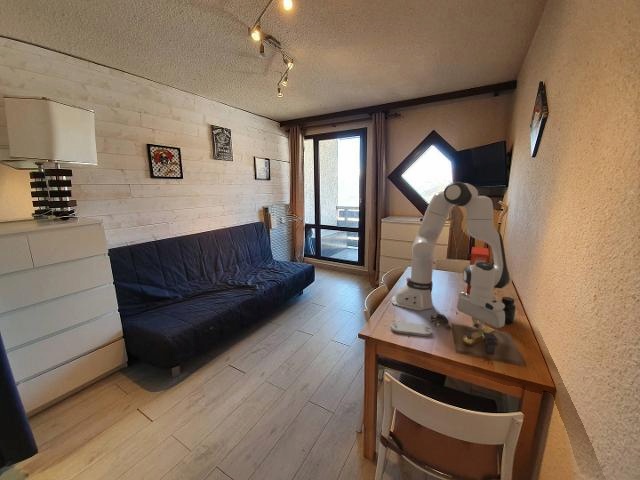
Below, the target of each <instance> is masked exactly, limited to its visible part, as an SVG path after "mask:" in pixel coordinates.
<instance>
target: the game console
mask: <svg viewBox="0 0 640 480" xmlns="http://www.w3.org/2000/svg"><path fill="white" fill-rule="evenodd" d="M390 329H391V331H392V332H394V331H395V332H394V333H397V332H398V334H402V333H403V335H410V334H411V336H419V337H430V336H431V335H432V332H433V330H432V327H430V326H428V325H424V324H420V323H412V322H404V321H402V322H401V321H393V322H391V324H390Z"/></svg>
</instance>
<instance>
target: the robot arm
mask: <svg viewBox="0 0 640 480" xmlns="http://www.w3.org/2000/svg"><path fill="white" fill-rule="evenodd" d="M454 207H463V208H464V210H465V212H466V215H465V230H466V232H467V234H468V235H469V236H471V238H472V239H473V238H474V239H476V240H478V241H481V242H483V243H486V244H487V245H489V247H490V248H491V250H492V251H491V252H492V258H493V264H491V263H489V262H488V263H486V262H477V263H475V264H474V265H470V264H469V265H466V266H465V267H464V268H463V271H462V280H463V282H465V284H467V285H471V290H470V295H469V294H466V293H467V292H464V291H463V292H460V293H459V295H458V301H457V304H456V309H457V311H459V312H461V313H464V314H465V315H468V316H469V317H471V321H472V323H473V326H472V327H476V328H478V329H483V325H484V324H488V325H489V326H492V327H494V328H497V329H500V328H502V327H504V326H505V325H506V324H505V312H504V310H503V309H504V308H505V305H504V304H503V303H502V301H500V300H499V299H498V298H497V297H495V296H494V289H495V288H496V289H500V290H501V289H503V288H505V287H506V286H508V284H509V283H510V273H509V270H508V265H507V259H506V252H505V245H504V239H503V236H502V233H501V232H499V231H497V229H496V227H495V225H494V224H495V222H494V220H495V219H494V205H493V201H492V199H491V198H490V197H488V196H486V195H480V190H479V189H478V188H477V187H476V186H475V185H473V184H470V183H466V182H462V181H454V182H451V183H449V184H448V185H446V187H445V189H444V191H438V192H436V193H435V194H433V196H432V198H431V200H430V201H429V204H428V205H427V208H426V210H425V212H424V216H423V217H422V221H421V222H420V225H419V229H418V230H417V233H416V235H415V238H414V241H413V243H412V245H411V267H410V268H411V269H410V277H409V276H407V277H406V284H405V285H403V286H401V287H399V288H398V289H397V291H396V293H395V294H394V295H393V296H392V297H391V303H393V304H394V306H396V305H397V306H398V307H402V308H406V309H410V310H415V311H418V312H421V311H423V310H428V309H433V307H434V304H433V298H432V292H433V272H434V269H433V267H434V255H435V246H436V244H437V243H438V239H439V238H440V235H441V234H442V231H443V230H444V227H445V224H446V223H447V220H448V218H449V214H450V212H451V210H452V209H453V208H454ZM393 304H392V305H393ZM478 320H479V321H478Z"/></svg>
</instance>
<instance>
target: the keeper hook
mask: <svg viewBox="0 0 640 480" xmlns="http://www.w3.org/2000/svg"><path fill="white" fill-rule="evenodd" d="M482 336H483V339H484V342H485V344H486V348H485V350H486V353H488V354H493V355H494V350H495V346H498V342H497V340H496V337H495V335H494V334H490V333H484V332H483V334H482Z"/></svg>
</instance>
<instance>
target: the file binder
mask: <svg viewBox="0 0 640 480" xmlns="http://www.w3.org/2000/svg"><path fill="white" fill-rule="evenodd" d="M489 259H490V253H489V248H487V247H477V246H472V247H471V253H470V259H469V265H474V264H475V263H477V262H486V263H489ZM470 290H471V285H468V284H467V285H466V292H465V293H466V294H469V295H470Z"/></svg>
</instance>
